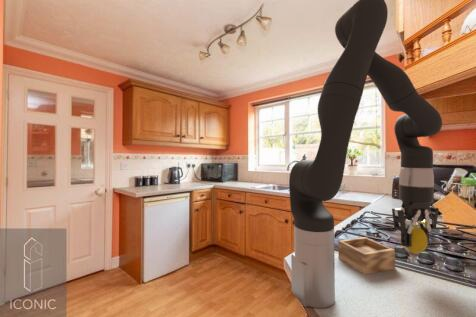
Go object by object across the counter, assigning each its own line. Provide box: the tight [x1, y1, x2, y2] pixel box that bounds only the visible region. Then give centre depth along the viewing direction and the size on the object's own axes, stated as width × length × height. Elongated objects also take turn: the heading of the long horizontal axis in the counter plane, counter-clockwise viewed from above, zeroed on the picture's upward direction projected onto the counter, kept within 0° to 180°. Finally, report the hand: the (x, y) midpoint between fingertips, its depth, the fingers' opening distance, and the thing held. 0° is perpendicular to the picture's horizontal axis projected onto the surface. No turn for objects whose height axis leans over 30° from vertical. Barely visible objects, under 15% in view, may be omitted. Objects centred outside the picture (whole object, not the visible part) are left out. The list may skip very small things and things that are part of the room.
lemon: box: [404, 224, 428, 255], centre depth 63 cm, size 6×6×8 cm
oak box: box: [337, 236, 396, 275], centre depth 72 cm, size 11×11×6 cm
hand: (415, 244), depth 63 cm, fingers closed on lemon, 5 cm apart
